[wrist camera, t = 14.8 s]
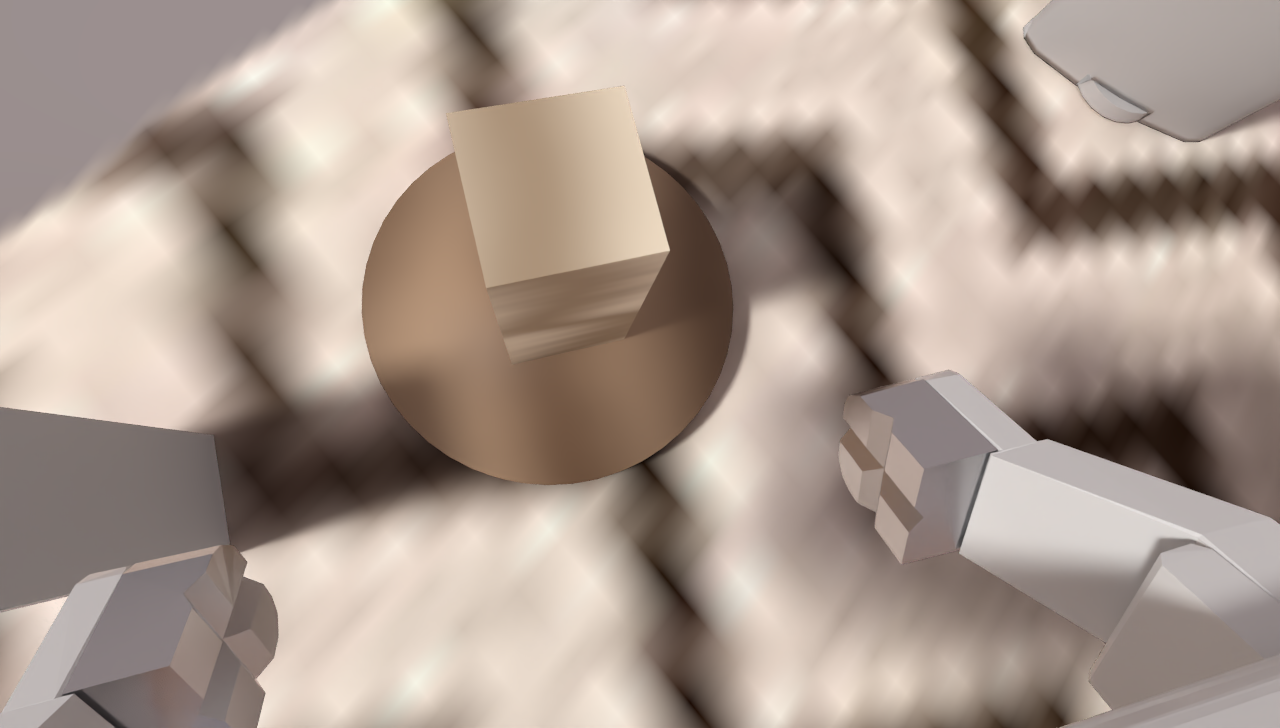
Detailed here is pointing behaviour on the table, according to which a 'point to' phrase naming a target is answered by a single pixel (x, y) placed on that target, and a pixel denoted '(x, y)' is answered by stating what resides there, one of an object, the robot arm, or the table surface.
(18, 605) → the slate grey block
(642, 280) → the birch block
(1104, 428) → the table surface
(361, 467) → the table surface
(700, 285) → the walnut board
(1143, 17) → the tall pale column
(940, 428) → the robot arm
